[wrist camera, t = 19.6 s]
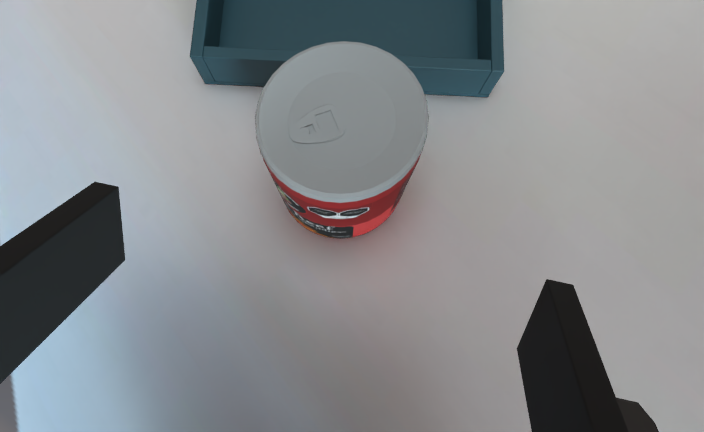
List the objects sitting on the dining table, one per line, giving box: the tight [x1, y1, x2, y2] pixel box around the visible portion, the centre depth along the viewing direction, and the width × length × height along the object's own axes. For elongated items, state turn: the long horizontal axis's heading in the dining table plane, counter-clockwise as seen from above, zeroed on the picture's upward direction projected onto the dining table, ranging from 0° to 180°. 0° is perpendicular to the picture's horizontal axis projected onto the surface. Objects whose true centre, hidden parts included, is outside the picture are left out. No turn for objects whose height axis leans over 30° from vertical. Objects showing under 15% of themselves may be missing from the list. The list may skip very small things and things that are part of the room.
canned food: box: [255, 41, 429, 238], centre depth 28 cm, size 8×8×11 cm
